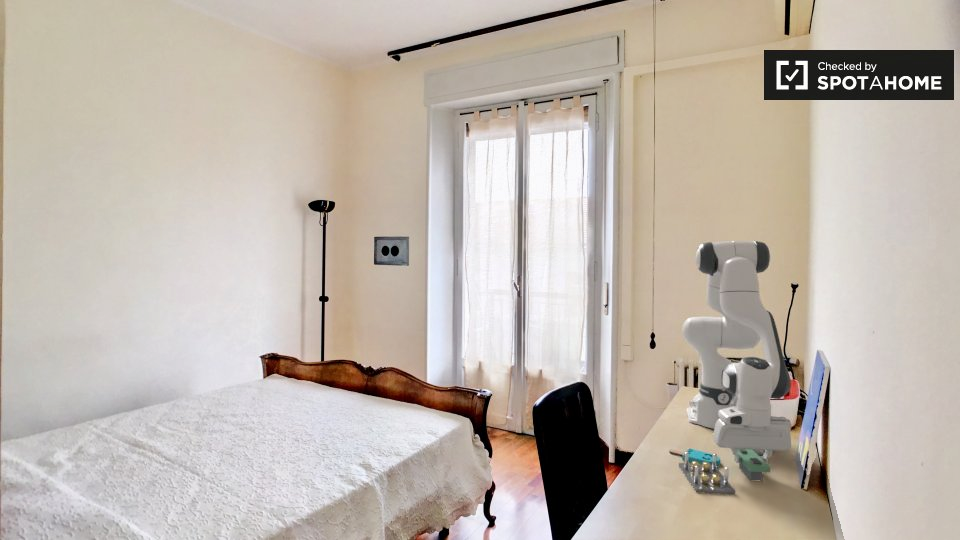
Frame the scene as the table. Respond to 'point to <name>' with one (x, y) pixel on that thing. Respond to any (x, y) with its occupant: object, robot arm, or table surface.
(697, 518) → the table surface
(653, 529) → the table surface
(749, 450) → the board
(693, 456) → the toy
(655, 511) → the table surface
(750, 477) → the grey rectangular block
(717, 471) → the chassis
